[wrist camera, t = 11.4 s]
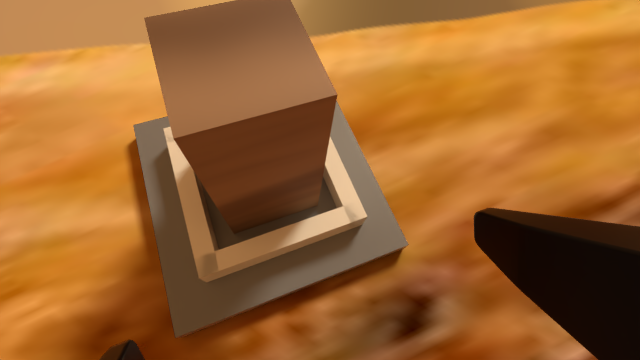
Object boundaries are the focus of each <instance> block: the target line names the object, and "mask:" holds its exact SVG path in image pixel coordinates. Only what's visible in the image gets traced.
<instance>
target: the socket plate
mask: <svg viewBox="0 0 640 360" xmlns="http://www.w3.org/2000/svg"><path fill="white" fill-rule="evenodd" d="M134 131H135V136H136V141H137V146H138V151H139V156H140V161H141V166H142V171H143V176H144V181H145V186H146V192H147V197H148V202H149V207H150V212H151V217H152V222H153V227H154V232H155V237H156V242H157V248H158V253H159V258H160V263H161V268H162V273H163V278H164V283H165V288H166V293H167V298H168V303H169V309H170V314H171V319H172V324H173V329H174V334H175V338H179V337H184V336H186V335H189V334H191V333H194V332H196V331H199V330H201V329H204V328H206V327H209V326H211V325H214V324H216V323H219V322H221V321H224V320H226V319H229V318H231V317H234V316H236V315H239V314H241V313H244V312H246V311H249V310H251V309H254V308H256V307H259V306H261V305H264V304H266V303H269V302H271V301H274V300H276V299H279V298H281V297H284V296H286V295H289V294H291V293H294V292H296V291H299V290H302V289H304V288H307V287H309V286H312V285H314V284H317V283H319V282H322V281H324V280H327V279H329V278H332V277H334V276H337V275H339V274H342V273H344V272H347V271H349V270H352V269H354V268H357V267H359V266H362V265H364V264H367V263H369V262H372V261H374V260H377V259H379V258H382V257H384V256H387V255H389V254H392V253H394V252H397V251H399V250H402V249H404V248H405V247H406V246H408V243H407V241H406V239H405V237H404V235H403V233H402V231H401V229H400V227H399V225H398V223H397V221H396V219H395V217H394V215H393V213H392V211H391V209H390V207H389V205H388V203H387V201H386V199H385V197H384V195H383V193H382V191H381V189H380V187H379V185H378V183H377V181H376V179H375V177H374V175H373V173H372V171H371V169H370V167H369V165H368V163H367V161H366V159H365V157H364V155H363V153H362V151H361V149H360V147H359V145H358V143H357V141H356V139H355V137H354V135H353V133H352V131H351V129H350V127H349V125H348V123H347V121H346V119H345V117H344V115H343V113H342V111H341V109H340V107H339V105H338V103H337V101H336V105H335V111H334V116H333V122H332V128H331V133H330V139H329V145H328V150H327V156H326V162H325V167H324V173H323V179H322V184H321V190H320V195H319V201H318V206H315V207H312V208H309V209H306V210H303V211H300V212H297V213H294V214H291V215H288V216H286V217H283V218H280V219H277V220H274V221H271V222H268V223H265V224H262V225H259V226H256V227H253V228H250V229H247V230H244V231H241V232H238V233H236V234H234V233H233V232H232V230H231V229H230V227H229V225H228V224H227V222H226V221H225V219H224V218H223V216H222V214H221V213H220V211H219V210H218V208H217V207H216V205H215V203H214V202H213V200H212V199H211V197H210V196H209V194H208V192H207V191H206V189H205V188H204V186H203V185H202V183H201V181H200V180H199V178H198V177H197V175H196V174H195V172H194V170H193V169H192V167H191V166H190V164H189V163H188V161H187V159H186V158H185V156H184V155H183V153H182V152H181V150H180V148H179V147H178V145H177V144H176V142H175V140H174V139H173V135H172V131H171V127H170V123H169V119H168V116H167V117H163V118H159V119H155V120H151V121H148V122H144V123H140V124H136V125H134Z"/></svg>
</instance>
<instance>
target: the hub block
mask: <svg viewBox="0 0 640 360" xmlns="http://www.w3.org/2000/svg"><path fill="white" fill-rule="evenodd" d="M145 22H146V27H147V31H148V35H149V40H150V44H151V48H152V52H153V56H154V60H155V65H156V69H157V73H158V77H159V81H160V85H161V90H162V94H163V98H164V102H165V106H166V110H167V115H168V119H169V123H170V127H171V131H172V135H173V139H174V140H175V142H176V144H177V145H178V147H179V148H180V150H181V152H182V153H183V155H184V156H185V158H186V159H187V161H188V163H189V164H190V166H191V167H192V169H193V170H194V172H195V174H196V175H197V177H198V178H199V180H200V181H201V183H202V185H203V186H204V188H205V189H206V191H207V192H208V194H209V196H210V197H211V199H212V200H213V202H214V203H215V205H216V207H217V208H218V210H219V211H220V213H221V214H222V216H223V218H224V219H225V221H226V222H227V224H228V225H229V227H230V229H231V230H232V232H233V233H234V234H236V233H238V232H241V231H244V230H247V229H250V228H253V227H256V226H259V225H262V224H265V223H268V222H271V221H274V220H277V219H280V218H283V217H286V216H288V215H291V214H294V213H297V212H300V211H303V210H306V209H309V208H312V207H315V206H318V201H319V195H320V190H321V184H322V179H323V173H324V167H325V162H326V156H327V150H328V145H329V139H330V133H331V128H332V122H333V116H334V111H335V105H336V99H337V93H336V91H335V89H334V87H333V85H332V83H331V81H330V79H329V77H328V75H327V73H326V71H325V69H324V67H323V65H322V63H321V61H320V59H319V57H318V55H317V53H316V51H315V49H314V46H313V44H312V42H311V40H310V38H309V36H308V34H307V33H306V30H305V29H304V26H303V25H302V22H301V20H300V18H299V16H298V14H297V12H296V10H295V8H294V6H293V4H292V2H291V0H236V1H230V2H225V3H220V4H215V5H209V6H204V7H199V8H194V9H189V10H183V11H178V12H173V13H167V14H162V15H157V16H152V17H147V18H145Z"/></svg>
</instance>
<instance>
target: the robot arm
mask: <svg viewBox="0 0 640 360" xmlns="http://www.w3.org/2000/svg"><path fill="white" fill-rule="evenodd" d="M474 238H475V241H476V243H477V245H478V246H479V247H480V248H481V250H482V251H483V252H484V253H485V254H486V255H487V256H488V257H489V258H490V259H491V260H492V261H493V262H494V263H495V264H496V265H497V267H498V268H499V269H500V270H501V271H502V272H503V273H504V274H505V275H506V276H507V277H508V278H509V279H510V280H511V281H512V282H513V283H514V284H515V285H516V286H517V287H518V288H519V289H520V290H521V291H522V292H523V293H524V294H525V295H526V296H527V297H528V298H530V299H531V300H532V301H533V302H534V303H535V304H536V305H537V306H539V307H540V308H541V309H542V310H543V311H544V312H545V313H546V314H548V315H549V316H550V317H551V318H552V319H553V320H554V321H555V322H557V323H558V324H559V325H560V326H561V327H562V328H563V329H564V330H566V331H567V332H568V333H569V334H570V335H571V336H572V337H573V338H575V339H576V340H577V341H578V342H579V343H580V344H581V345H582V346H584V347H585V348H586V349H587V350H588V351H589V352H590V353H591V354H593V355H594V356H595V357H596V358H597V359H598V360H640V227H638V226H631V225H623V224H615V223H607V222H599V221H591V220H583V219H575V218H568V217H560V216H552V215H544V214H536V213H528V212H520V211H512V210H505V209H497V208H486V209H483V210H480V211H478V212H476V213H475V215H474ZM99 360H145V359H144V357H143V355H142V353H141V352H140V350H139V348H138V346H137V344H136V343H135V342H134V341H133V340H127V341H125V342H122V343H119V344H116V345H114V346H112V347H110V348H109V349H108V351H107V352H106V353H105V354H104V355H103V356H102V357H101V358H100V359H99Z"/></svg>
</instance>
